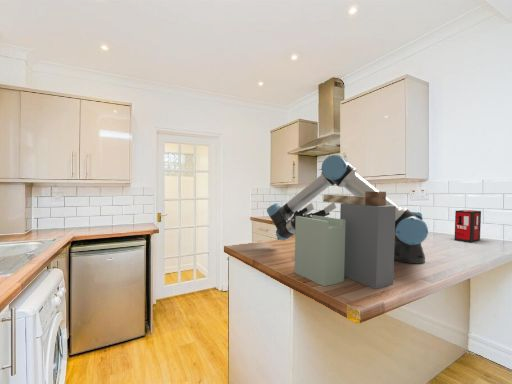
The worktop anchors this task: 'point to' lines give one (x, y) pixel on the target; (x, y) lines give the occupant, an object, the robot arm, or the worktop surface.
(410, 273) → the worktop surface
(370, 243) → the tall grey upright slab
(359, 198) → the mallet
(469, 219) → the cleaning product box
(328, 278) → the sage green tall box
